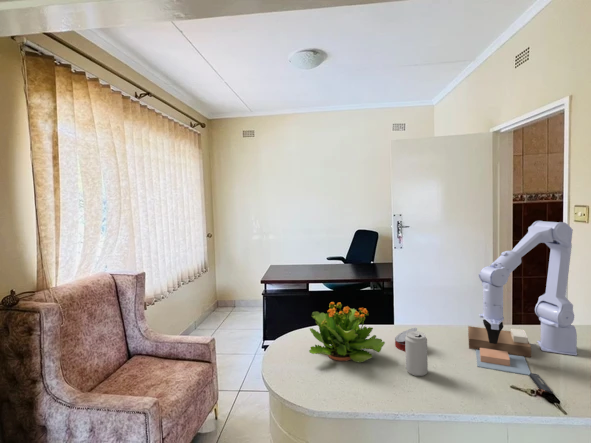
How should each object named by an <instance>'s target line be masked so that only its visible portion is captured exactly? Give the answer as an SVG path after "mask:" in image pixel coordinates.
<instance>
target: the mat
mask: <svg viewBox="0 0 591 443" xmlns="http://www.w3.org/2000/svg"><path fill="white" fill-rule="evenodd" d="M508 355H509V358H510V366H506V365H499V364H493V363H487V362H481V361H480V350H477V349H475V356H476V358H475V359H476V365H477V366H476V367H477V368H481V369H489V370H494V371H500V372H504V373H505V372H506V373H510V374H512V373H513V374H518V375H523V376H529V375H530V373H531V371H530V367H529V365H528V363H527V360H526V357H525V356H518V355H511V354H508Z"/></svg>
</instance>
